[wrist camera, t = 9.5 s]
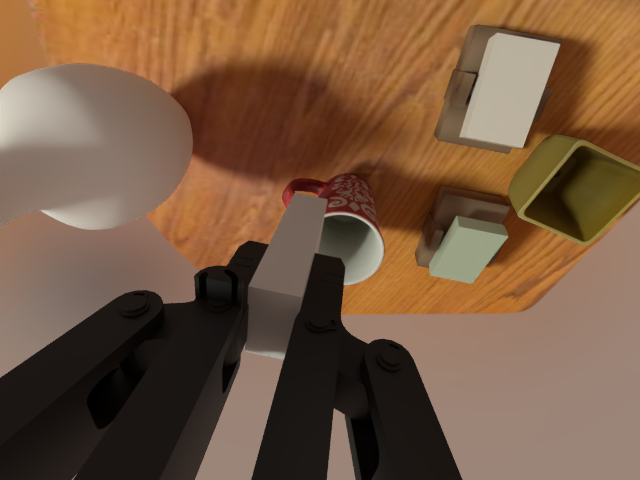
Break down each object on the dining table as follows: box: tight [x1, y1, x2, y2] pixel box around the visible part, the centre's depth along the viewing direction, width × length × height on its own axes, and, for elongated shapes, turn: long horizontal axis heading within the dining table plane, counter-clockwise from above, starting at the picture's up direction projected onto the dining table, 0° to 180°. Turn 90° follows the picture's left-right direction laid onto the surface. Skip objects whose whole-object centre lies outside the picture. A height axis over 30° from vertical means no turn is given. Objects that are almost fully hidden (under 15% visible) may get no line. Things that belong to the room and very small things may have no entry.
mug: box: [282, 174, 385, 285], centre depth 39 cm, size 13×9×14 cm
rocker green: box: [429, 216, 508, 284], centre depth 40 cm, size 9×6×2 cm, turn 171°
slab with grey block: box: [415, 185, 510, 268], centre depth 43 cm, size 11×8×5 cm
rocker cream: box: [459, 33, 560, 148], centre depth 31 cm, size 9×6×2 cm, turn 171°
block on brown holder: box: [434, 25, 562, 154], centre depth 34 cm, size 11×8×5 cm
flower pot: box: [508, 134, 640, 246], centre depth 36 cm, size 9×9×9 cm
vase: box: [0, 63, 193, 230], centre depth 30 cm, size 14×14×28 cm
